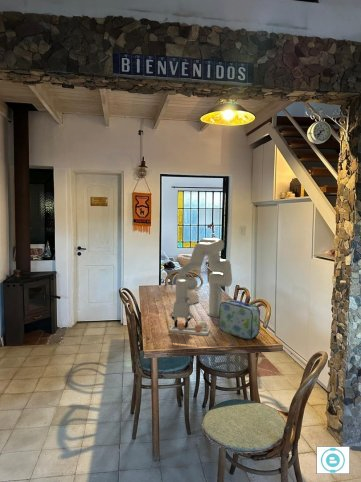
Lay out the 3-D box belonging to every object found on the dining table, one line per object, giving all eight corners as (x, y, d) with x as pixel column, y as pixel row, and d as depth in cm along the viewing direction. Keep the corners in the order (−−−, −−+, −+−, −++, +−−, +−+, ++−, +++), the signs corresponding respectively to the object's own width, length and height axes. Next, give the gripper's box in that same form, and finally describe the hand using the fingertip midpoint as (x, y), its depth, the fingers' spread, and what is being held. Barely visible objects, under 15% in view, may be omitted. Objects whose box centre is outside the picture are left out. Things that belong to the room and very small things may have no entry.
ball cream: (200, 327, 218) (200, 319, 217) (207, 328, 216) (207, 320, 216) (198, 329, 213) (198, 322, 212) (206, 330, 212) (206, 322, 211)
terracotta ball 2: (195, 330, 210) (195, 322, 209) (203, 331, 209) (203, 323, 208) (193, 333, 205) (193, 325, 205) (201, 334, 204) (201, 326, 203)
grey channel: (172, 329, 215) (172, 325, 215) (209, 332, 209) (209, 328, 209) (169, 333, 207) (169, 329, 207) (207, 337, 201) (207, 333, 201)
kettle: (203, 302, 281) (203, 281, 280) (181, 305, 272) (181, 283, 271) (192, 297, 299) (192, 277, 298) (171, 299, 290) (171, 279, 289)
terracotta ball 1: (178, 328, 212) (178, 321, 212) (185, 329, 211) (186, 321, 211) (176, 331, 208) (176, 323, 207) (184, 332, 206) (184, 324, 206)
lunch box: (262, 338, 201) (263, 304, 199) (252, 342, 193) (253, 307, 192) (227, 327, 219) (228, 296, 218) (217, 331, 212) (217, 298, 210)
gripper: (196, 298, 209) (195, 326, 211) (169, 296, 214) (169, 324, 215) (193, 301, 202) (193, 330, 204) (166, 299, 206) (166, 328, 208)
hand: (181, 327), depth 209 cm, fingers open, 5 cm apart
